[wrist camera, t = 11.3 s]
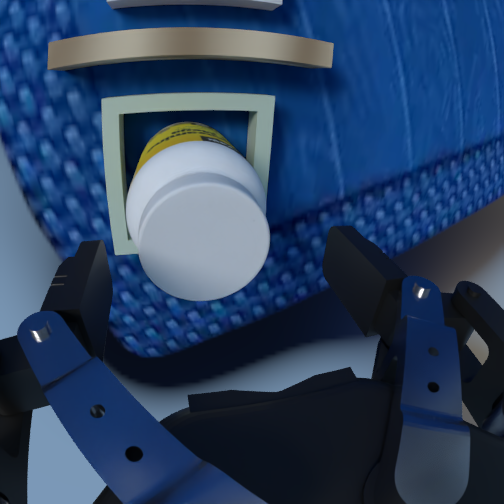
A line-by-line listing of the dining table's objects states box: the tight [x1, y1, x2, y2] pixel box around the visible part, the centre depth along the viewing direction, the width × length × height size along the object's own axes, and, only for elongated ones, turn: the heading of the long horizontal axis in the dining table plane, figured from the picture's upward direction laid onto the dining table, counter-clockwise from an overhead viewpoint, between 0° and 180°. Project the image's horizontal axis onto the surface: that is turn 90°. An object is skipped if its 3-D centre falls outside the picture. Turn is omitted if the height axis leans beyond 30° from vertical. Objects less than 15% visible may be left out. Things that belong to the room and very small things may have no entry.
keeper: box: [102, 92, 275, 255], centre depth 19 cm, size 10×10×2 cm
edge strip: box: [48, 27, 334, 71], centre depth 15 cm, size 16×2×3 cm, turn 86°
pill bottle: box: [126, 122, 270, 301], centre depth 15 cm, size 6×6×11 cm
